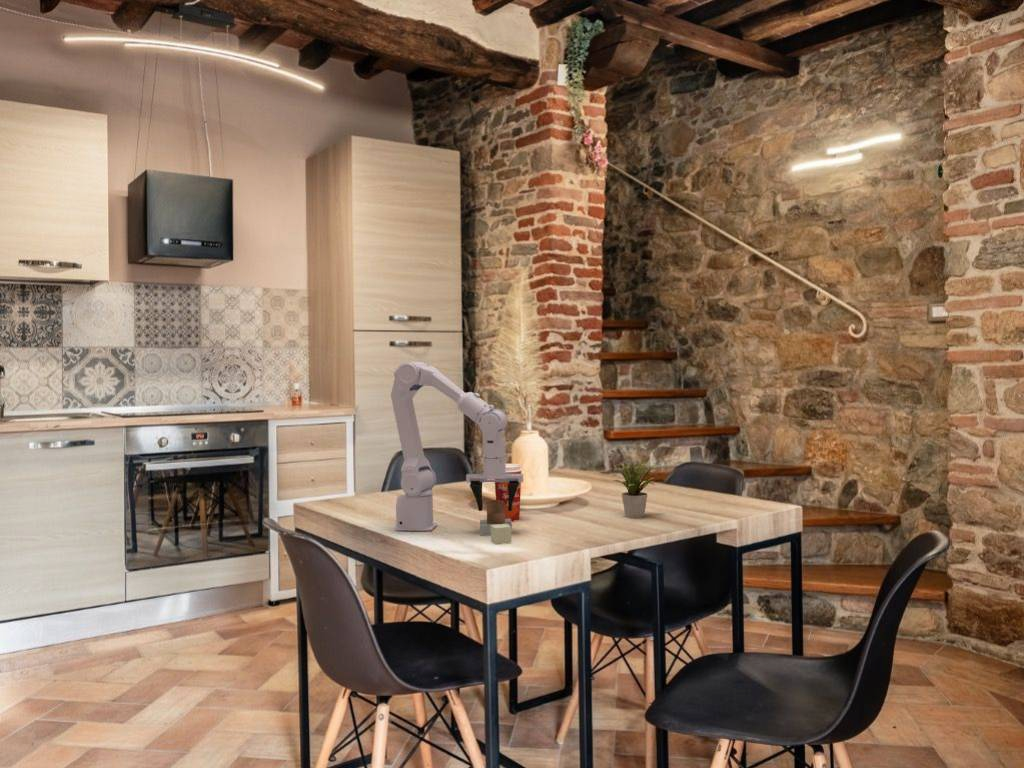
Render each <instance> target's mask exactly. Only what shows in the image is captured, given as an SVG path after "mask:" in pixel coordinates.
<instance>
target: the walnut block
mask: <svg viewBox="0 0 1024 768" xmlns="http://www.w3.org/2000/svg"><path fill="white" fill-rule="evenodd" d="M486 520H487V524H503V523H504V522H505V502H496V501H488V502H487V503H486Z"/></svg>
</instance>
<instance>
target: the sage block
mask: <svg viewBox="0 0 1024 768" xmlns="http://www.w3.org/2000/svg"><path fill="white" fill-rule="evenodd" d="M490 542H492V543H493V544H494V545H503V544H502V543H506V544H511V543H512V535H511V526H509V525H507V524H498V525H491V536H490ZM510 542H511V543H510Z"/></svg>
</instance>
